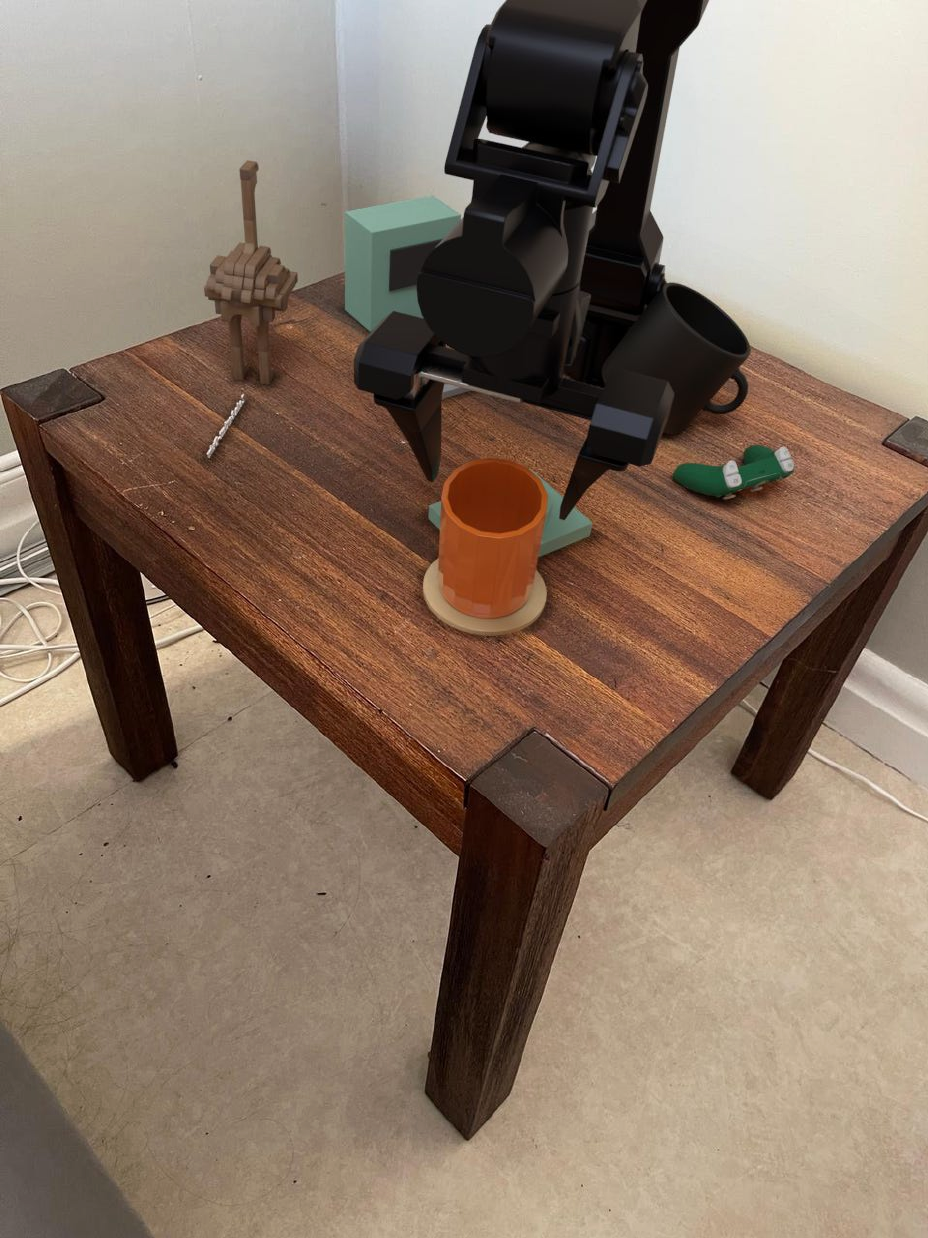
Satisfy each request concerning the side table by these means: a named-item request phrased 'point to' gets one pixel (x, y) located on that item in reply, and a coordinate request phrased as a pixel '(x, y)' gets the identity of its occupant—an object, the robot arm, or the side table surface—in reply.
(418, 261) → the mint block with tray
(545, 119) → the robot arm
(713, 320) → the mug
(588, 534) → the button base
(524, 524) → the cup
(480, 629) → the coaster
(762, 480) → the gaming controller
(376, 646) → the side table surface
